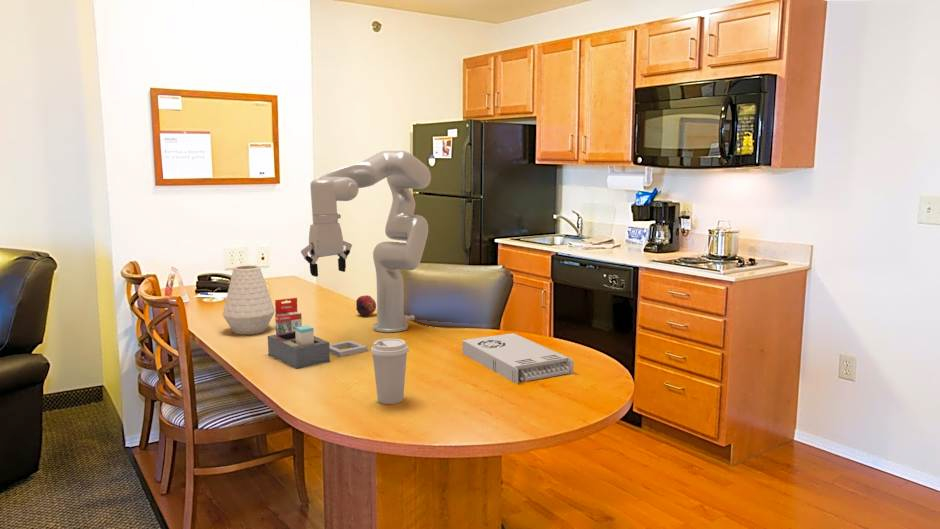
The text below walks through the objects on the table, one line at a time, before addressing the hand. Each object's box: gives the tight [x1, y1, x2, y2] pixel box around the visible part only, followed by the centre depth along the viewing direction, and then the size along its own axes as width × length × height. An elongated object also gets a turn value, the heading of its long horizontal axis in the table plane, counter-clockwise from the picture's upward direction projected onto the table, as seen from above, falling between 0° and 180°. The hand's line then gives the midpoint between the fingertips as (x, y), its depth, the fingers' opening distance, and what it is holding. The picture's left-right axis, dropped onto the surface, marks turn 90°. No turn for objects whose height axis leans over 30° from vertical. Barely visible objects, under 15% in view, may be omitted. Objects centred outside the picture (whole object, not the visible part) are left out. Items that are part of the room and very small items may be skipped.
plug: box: [295, 324, 315, 346], centre depth 200 cm, size 4×4×9 cm
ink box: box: [274, 297, 303, 335], centre depth 221 cm, size 4×8×15 cm, turn 123°
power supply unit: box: [462, 332, 575, 385], centre depth 199 cm, size 19×33×5 cm, turn 28°
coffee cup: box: [370, 338, 410, 405], centre depth 167 cm, size 10×10×15 cm
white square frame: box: [329, 339, 368, 358], centre depth 212 cm, size 10×10×2 cm
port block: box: [267, 331, 331, 370], centre depth 204 cm, size 11×19×6 cm, turn 41°
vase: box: [222, 264, 276, 336], centre depth 234 cm, size 18×17×23 cm
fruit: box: [355, 294, 377, 317], centre depth 259 cm, size 8×8×8 cm
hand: (328, 273), depth 208 cm, fingers open, 9 cm apart
